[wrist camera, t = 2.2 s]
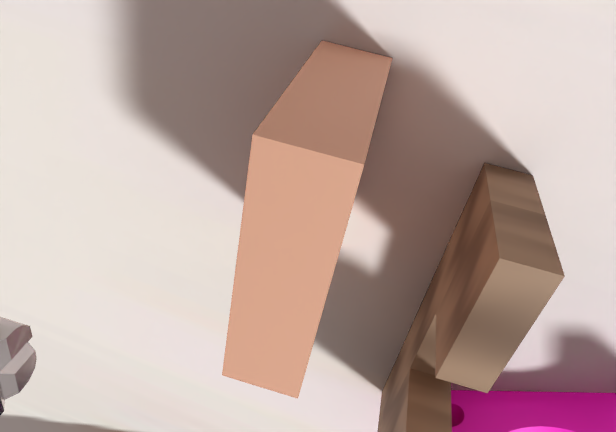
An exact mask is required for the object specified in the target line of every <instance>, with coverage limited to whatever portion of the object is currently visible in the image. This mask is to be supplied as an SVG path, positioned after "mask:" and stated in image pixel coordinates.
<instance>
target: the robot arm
mask: <svg viewBox="0 0 616 432" xmlns="http://www.w3.org/2000/svg"><path fill="white" fill-rule="evenodd" d="M31 338H32V333H31V329H30V326H28V325H25V324H22V323H19V322H15V321H12V320H9V319H6V318H3V317H0V415H1V414H2V413H3V412H4V405H5V399H7V398H9V397H11V396H13V395H16V394H18V393H19V392H20V391H21V390H22V389H23V387H24V386H25V385H26V384H27V382H28V381H29V379H30V377H31V375H32V373H33V371H34V369H35V364H36V353H35V350H34V349H33V347H32V346H31V345H30V344H29V343H28V341H29V340H30V339H31Z"/></svg>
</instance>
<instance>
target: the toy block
mask: <svg viewBox="0 0 616 432" xmlns="http://www.w3.org/2000/svg"><path fill="white" fill-rule="evenodd" d="M451 415H452V432H616V393H585V392H528V391H489V392H488V393H485V392H481V391H470V390H451Z"/></svg>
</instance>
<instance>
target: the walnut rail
mask: <svg viewBox="0 0 616 432" xmlns="http://www.w3.org/2000/svg"><path fill="white" fill-rule="evenodd" d="M563 278H564V273H563V269H562V266H561V263H560V260H559V257H558V254H557V250H556V247H555V244H554V241H553V238H552V235H551V231H550V228H549V225H548V222H547V219H546V216H545V212H544V209H543V206H542V203H541V200H540V197H539V193H538V190H537V187H536V184H535V181H534V178H533V175H529V174H525V173H522V172H518V171H514V170H510V169H506V168H503V167H499V166H495V165H491V164H487V163H484V165H483V167H482V170H481V172H480V174H479V176H478V178H477V181H476V183H475V185H474V187H473V190H472V192H471V194H470V196H469V199H468V201H467V203H466V205H465V208H464V210H463V212H462V214H461V216H460V219H459V221H458V223H457V225H456V228H455V230H454V232H453V234H452V237H451V239H450V241H449V243H448V246H447V248H446V250H445V252H444V254H443V257H442V259H441V261H440V263H439V266H438V268H437V270H436V272H435V275H434V277H433V279H432V281H431V284H430V286H429V288H428V290H427V292H426V295H425V297H424V299H423V301H422V304H421V306H420V308H419V310H418V313H417V315H416V317H415V319H414V322H413V324H412V326H411V328H410V330H409V333H408V335H407V337H406V339H405V342H404V344H403V346H402V348H401V351H400V353H399V355H398V357H397V360H396V362H395V364H394V366H393V368H392V371H391V373H390V375H389V377H388V380H387V382H386V384H385V386H384V389H383V391H382V397H381V406H380V415H379V424H378V432H452V415H451V383H454V384H458V385H461V386H465V387H468V388H471V389H475V390H478V391H481V392H485V393H488V392H489V390H490V389H491V387H492V386H493V384H494V383H495V381H496V380H497V378H498V377H499V375H500V374H501V372H502V371H503V369H504V368H505V366H506V365H507V363H508V361H509V360H510V358H511V357H512V355H513V354H514V352H515V351H516V349H517V348H518V346H519V345H520V343H521V342H522V340H523V339H524V337H525V336H526V334H527V333H528V331H529V330H530V328H531V327H532V325H533V324H534V322H535V320H536V319H537V317H538V316H539V314H540V313H541V311H542V310H543V308H544V307H545V305H546V304H547V302H548V301H549V299H550V298H551V296H552V295H553V293H554V292H555V290H556V289H557V287H558V286H559V284H560V282H561V281H562V279H563Z"/></svg>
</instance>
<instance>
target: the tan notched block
mask: <svg viewBox="0 0 616 432" xmlns="http://www.w3.org/2000/svg"><path fill="white" fill-rule="evenodd" d="M391 62H392V58H390V57H386V56H382V55H378V54H374V53H370V52H366V51H362V50H358V49H354V48H350V47H346V46H343V45H339V44H335V43H331V42H327V41H323V40H322V41H321V42H320V44H319V45H318V46H317V48H316V49H315V50H314V52H313V53H312V54H311V56H310V57H309V59H308V60H307V61H306V63H305V64H304V65H303V67H302V68H301V69H300V71H299V72H298V74H297V75H296V76H295V78H294V79H293V80H292V82H291V83H290V84H289V86H288V87H287V88H286V90H285V91H284V93H283V94H282V95H281V97H280V98H279V99H278V101H277V102H276V103H275V105H274V106H273V107H272V109H271V110H270V112H269V113H268V114H267V116H266V117H265V118H264V120H263V121H262V122H261V124H260V125H259V126H258V128H257V129H256V131H255V132H254V133H253V135H252V143H251V151H250V159H249V166H248V174H247V182H246V190H245V198H244V206H243V214H242V222H241V230H240V238H239V246H238V253H237V261H236V269H235V277H234V285H233V293H232V301H231V309H230V317H229V325H228V333H227V340H226V348H225V356H224V364H223V372H222V375H223V376H226V377H229V378H233V379H236V380H239V381H242V382H246V383H249V384H252V385H255V386H259V387H262V388H265V389H268V390H272V391H275V392H278V393H282V394H285V395H288V396H291V397H295V398H298V396H299V393H300V389H301V386H302V382H303V379H304V375H305V372H306V368H307V364H308V361H309V357H310V354H311V350H312V347H313V343H314V340H315V336H316V333H317V329H318V326H319V322H320V319H321V315H322V312H323V308H324V305H325V301H326V298H327V294H328V291H329V287H330V284H331V280H332V277H333V273H334V270H335V266H336V262H337V259H338V255H339V252H340V248H341V245H342V241H343V238H344V234H345V231H346V227H347V224H348V220H349V217H350V213H351V210H352V206H353V203H354V199H355V196H356V192H357V189H358V185H359V182H360V178H361V175H362V171H363V168H364V164H365V160H366V156H367V153H368V149H369V145H370V141H371V138H372V134H373V130H374V126H375V122H376V119H377V115H378V111H379V107H380V104H381V100H382V96H383V92H384V89H385V85H386V81H387V77H388V73H389V70H390V66H391Z"/></svg>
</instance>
